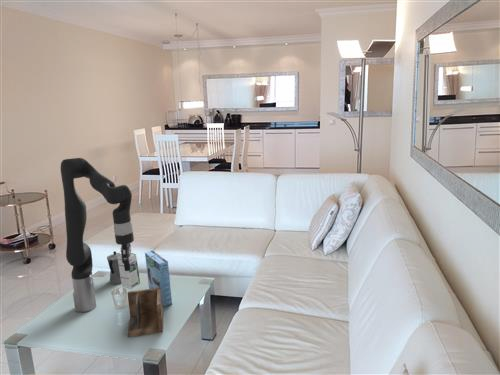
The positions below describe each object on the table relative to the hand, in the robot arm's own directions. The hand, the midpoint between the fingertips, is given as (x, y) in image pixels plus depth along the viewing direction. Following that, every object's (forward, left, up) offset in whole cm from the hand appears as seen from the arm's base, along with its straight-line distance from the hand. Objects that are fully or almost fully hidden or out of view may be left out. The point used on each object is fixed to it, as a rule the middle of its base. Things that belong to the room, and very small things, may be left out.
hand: (128, 266), depth 174 cm
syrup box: (0, 0, -9) cm, 9 cm away
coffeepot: (-13, +49, -29) cm, 59 cm away
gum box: (+11, +23, -29) cm, 39 cm away
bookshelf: (+5, -1, -29) cm, 29 cm away
